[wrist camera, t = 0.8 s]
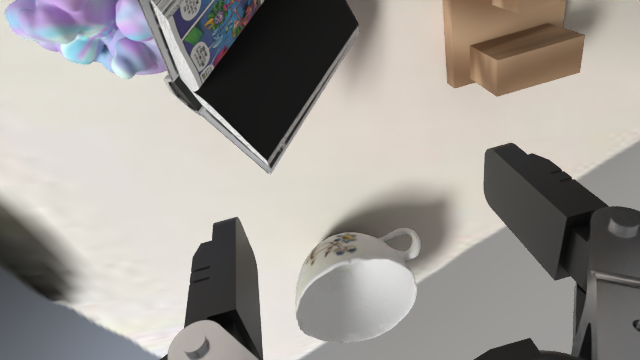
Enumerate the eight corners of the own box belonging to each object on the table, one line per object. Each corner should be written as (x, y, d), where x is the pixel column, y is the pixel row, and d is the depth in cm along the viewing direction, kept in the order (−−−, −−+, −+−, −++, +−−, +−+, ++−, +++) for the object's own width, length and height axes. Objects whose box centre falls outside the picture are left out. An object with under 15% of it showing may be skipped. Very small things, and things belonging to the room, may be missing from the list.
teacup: (332, 304, 52) (346, 361, 45) (263, 255, 45) (268, 312, 39) (429, 236, 48) (460, 287, 41) (370, 173, 42) (395, 220, 35)
